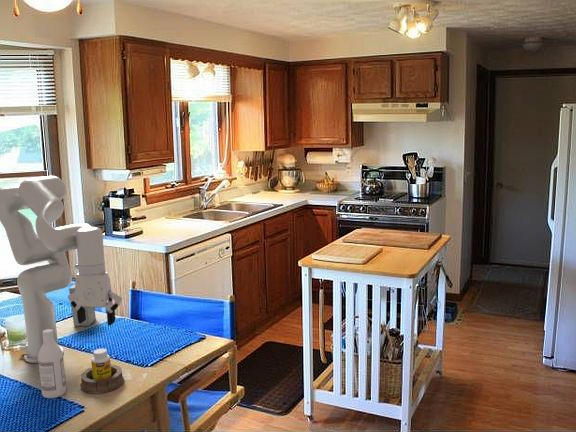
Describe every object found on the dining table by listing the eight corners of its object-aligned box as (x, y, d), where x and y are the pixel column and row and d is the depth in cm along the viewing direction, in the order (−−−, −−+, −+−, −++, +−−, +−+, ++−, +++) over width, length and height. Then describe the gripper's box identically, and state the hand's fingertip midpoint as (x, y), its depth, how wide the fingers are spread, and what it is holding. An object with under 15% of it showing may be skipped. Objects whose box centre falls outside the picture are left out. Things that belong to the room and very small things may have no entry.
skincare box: (89, 326, 228) (86, 287, 225) (71, 326, 228) (67, 288, 225) (96, 318, 236) (93, 281, 233) (79, 318, 236) (75, 281, 233)
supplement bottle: (96, 387, 176) (93, 356, 174) (91, 380, 181) (88, 350, 179) (114, 382, 179) (111, 351, 177) (109, 376, 184) (106, 345, 182)
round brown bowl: (71, 392, 175) (70, 381, 174) (94, 372, 188) (93, 362, 187) (111, 395, 173) (110, 384, 172) (131, 375, 185) (130, 365, 184)
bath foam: (59, 385, 180) (52, 324, 176) (71, 392, 175) (64, 329, 171) (37, 394, 174) (30, 331, 171) (49, 401, 170) (42, 337, 166)
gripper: (58, 271, 171) (64, 325, 175) (112, 273, 168) (117, 329, 171) (72, 264, 178) (77, 316, 182) (124, 266, 175) (128, 320, 178)
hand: (96, 322), depth 176 cm, fingers open, 9 cm apart
